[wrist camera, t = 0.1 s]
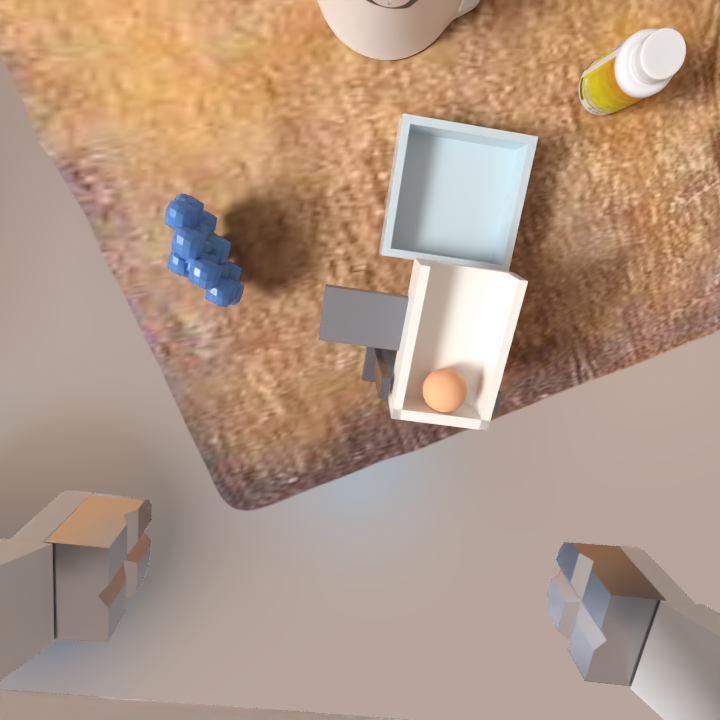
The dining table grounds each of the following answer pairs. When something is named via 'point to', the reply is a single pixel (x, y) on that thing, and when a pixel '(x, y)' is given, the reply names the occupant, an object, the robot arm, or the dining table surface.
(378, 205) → the dining table surface
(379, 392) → the trough stand
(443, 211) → the pale blue tray
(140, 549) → the robot arm
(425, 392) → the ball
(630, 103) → the supplement bottle
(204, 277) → the grapes
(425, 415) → the tipping trough
